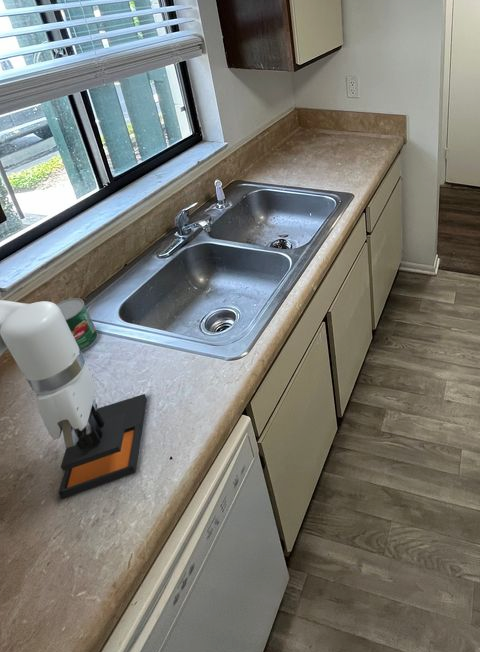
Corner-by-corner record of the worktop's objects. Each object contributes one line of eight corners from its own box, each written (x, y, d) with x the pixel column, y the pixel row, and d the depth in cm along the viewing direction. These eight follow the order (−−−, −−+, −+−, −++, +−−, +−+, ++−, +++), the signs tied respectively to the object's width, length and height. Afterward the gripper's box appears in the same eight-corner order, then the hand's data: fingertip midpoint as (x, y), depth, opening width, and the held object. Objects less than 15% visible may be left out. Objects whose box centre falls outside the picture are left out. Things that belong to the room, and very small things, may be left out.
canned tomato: (88, 325, 115) (74, 293, 111) (104, 337, 112) (90, 305, 107) (54, 347, 109) (37, 314, 104) (70, 360, 106) (54, 327, 101)
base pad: (60, 499, 79) (57, 493, 78) (83, 419, 92) (80, 413, 91) (135, 472, 83) (133, 466, 82) (146, 399, 96) (144, 393, 95)
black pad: (63, 471, 78) (47, 446, 75) (74, 434, 84) (59, 409, 80) (120, 451, 81) (107, 426, 77) (127, 417, 86) (115, 392, 83)
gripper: (45, 339, 79) (80, 405, 87) (10, 420, 65) (55, 490, 73) (93, 326, 81) (123, 392, 89) (69, 402, 68) (107, 471, 76)
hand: (92, 435), depth 81 cm, fingers closed on black pad, 2 cm apart
